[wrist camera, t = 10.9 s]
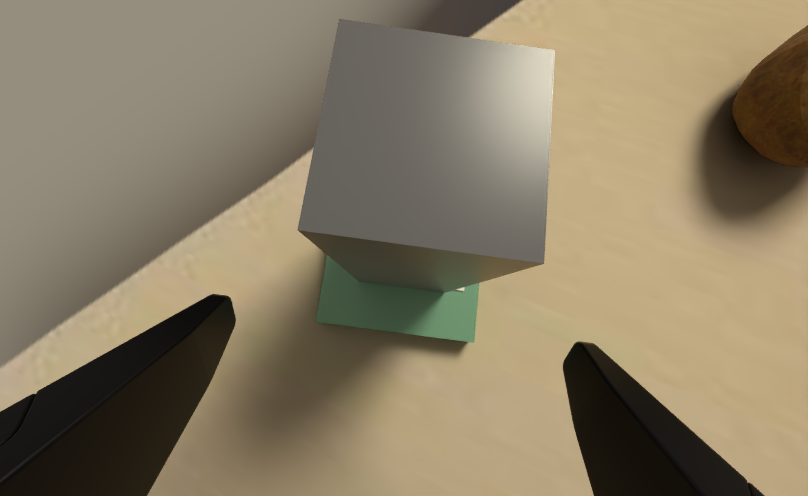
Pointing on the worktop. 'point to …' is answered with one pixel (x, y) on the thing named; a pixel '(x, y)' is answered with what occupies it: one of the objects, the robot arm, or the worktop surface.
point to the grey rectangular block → (430, 158)
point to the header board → (396, 307)
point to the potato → (777, 104)
